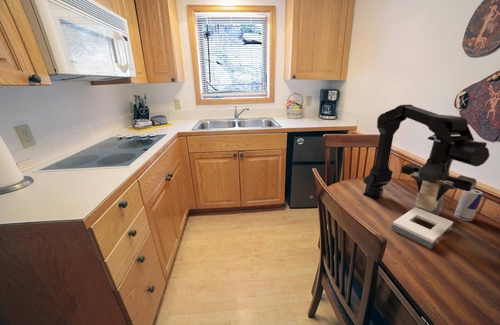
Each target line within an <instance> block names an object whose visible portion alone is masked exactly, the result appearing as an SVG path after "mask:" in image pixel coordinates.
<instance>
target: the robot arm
mask: <svg viewBox="0 0 500 325" xmlns="http://www.w3.org/2000/svg"><path fill="white" fill-rule="evenodd" d="M407 119H410V120H412V121H414V122H417V123H420V124H422V125H425V126H426V127H427V128H428V130H430V132H432V133H434V134H432V135H430V136H429V137H427V139H428V140H430V141H433V143H432V146H431V150H430V154H429V157H428V158H427V160H426V163H424V165H423V166H422V167H421V165H419V164H415V163H411V162H409V163H406V164H404V165H402V166H401V168H400V173H401V174H404V175H408V176H410V178H412V179H414V180H415V182H416V185H417V189H418V193H419V192H420V189H421V185H422V182H423V180H424V181H427V182H429V183H436V182H437V181H443V182H444V184H443V185H442V186H441V190H440V192H439V194H438V196H437V199H436V201H439V200H440V198H441V197H442V198H443V196H444V195H445V194H447V192H448V191H449V190H455V189H458V190H461V191H463V190H464V191H471V190H472V189H475V188H476V185H477V179H476V178H473V177H469V176H464V175H459V176H457V177H455V176H451V175H450V170H451V169H450V168H451V165H452V163H453V161H456V162H459V163H461V164H464V165H465V164H467V165H470V166H473V167H479V166H482V165H484V164H485V163H486V162H487V161H488V159H489V157H490V150H489V148H488V147H487V145H488V144H487V142H484V141H476V140H475V138H474V136H473V134H472V131H471V129H470V127H469V122H468V119H467V118H465V117H463V116H456V115H448V114H447V115H445V114H438V113H435V112H433V111H430V110H426V109H423V108H421V107H417V106H415V105H412V104H399V105H397V106H396V107H395V108H393V109H389V110H386V111H385V112H384V113H380V115H378V116H377V119H376V120H377V121H376V128H377V129H378V132H379V138H378V144H377V145H378V146H377V150H376V158H375V164H374V165H373V166H372V167H371V169H370V170H369V174H368V175H367V176H365V177H364V178H363V183H364V185H365V191H364V192H363V193H362V195H363V196H366V197H368V198H371V199H373V200H374V201H375V200H378V199H380V198H382V197H383V195H384V193H383V192H384V188H383V187H384V186H387V184H388V183H391V180H393V177H392V176H393V173H394V172H393V170H391V169H390V167H389V163H390V158H391V157H390V156H391V150H392V147H393V146H392V145H393V140H394V135H395V133H396V132H397V131H398V130H399V128H400V127H401V123H402V122H404V121H406V120H407Z"/></svg>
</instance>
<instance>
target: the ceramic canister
mask: <svg viewBox="0 0 500 325" xmlns="http://www.w3.org/2000/svg"><path fill="white" fill-rule="evenodd" d="M418 196H419V192H418V193H417V194H416V199H415V202H414V205H413V208H415V207H416V208H419V209H422V210H424V211H427V212H429V213H432V214H434V215H437V216H440V213H441V210H442V206H443V203H444V201H445V200H444V197H443V196H442V197H441V198H440V200H439V201H438V204H437V207H436V208H435V209H434V210H432V211H428V210H426V209H423V208H420V207H418V206H416V203H417V200H418Z"/></svg>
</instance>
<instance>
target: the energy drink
mask: <svg viewBox="0 0 500 325" xmlns="http://www.w3.org/2000/svg"><path fill="white" fill-rule="evenodd" d="M461 192H462V193H461V196H460V198H459V201H458V203H457V206H456V209H455V211H454V216H455V217H456V218H458V219H460V220H462V221H464V222H465V221H466V222H472V221H473V220H474V218H475V215H476V214H477V211H478V208H479V206H480V203H481V201H482V199H483V197H484V195H483V194H484V193H483V192H482V191H481V190H479V189H476V188H473V189H472V190H471V191H464V190H462V191H461Z"/></svg>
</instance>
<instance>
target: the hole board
mask: <svg viewBox="0 0 500 325" xmlns="http://www.w3.org/2000/svg"><path fill="white" fill-rule="evenodd" d="M414 219H415V220H417V221H419V222H422V223H423V224H427V225H428V226H431V227H432V228H430V229H429V228H427V227H425V226H423V225H421V224H418V223H416V222H414V221H413V220H414ZM453 224H454V221H452V220H451V219H447V218H445V217H442V216H440V215H439V216H437V215H434V214H432V213H429V212H427V211H424V210H422V209H419V208H416V207H415V208H414V207H413V208H411V209H410V210H409V211H408V212H406V213H404V214H403V215H401V216H400V217H398V218H396V219H395V220H394V221H393V222H392V226H391V228H390V231H393V232H395V233H397V234H399V235H401V236H403V237H404V238H407V239H409V240H411V241H413V242H415V243H417V244H418V245H419V244H420V245H422V246H423V247H425V248H427V249H429V250H431V249H432V248H434V246H435V244H436V241H437V240H438V239H439V238H440V237H441V236H442V235H443V234H444V233H449V232H450V231H451V229H452V227H453Z"/></svg>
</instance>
